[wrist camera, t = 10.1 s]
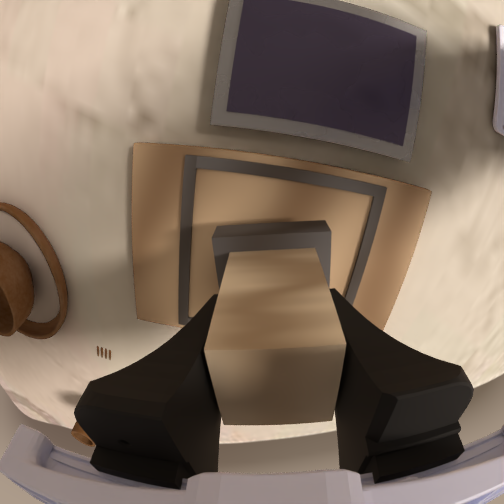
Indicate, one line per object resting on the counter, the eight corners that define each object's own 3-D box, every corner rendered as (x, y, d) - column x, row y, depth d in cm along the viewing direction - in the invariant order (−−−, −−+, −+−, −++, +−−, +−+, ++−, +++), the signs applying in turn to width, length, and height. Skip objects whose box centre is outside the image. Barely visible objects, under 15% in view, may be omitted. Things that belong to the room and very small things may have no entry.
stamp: (325, 219, 14) (376, 319, 7) (322, 309, 16) (349, 428, 9) (217, 225, 14) (171, 328, 7) (229, 314, 16) (207, 433, 9)
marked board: (426, 188, 14) (433, 192, 14) (372, 343, 19) (375, 350, 18) (138, 142, 14) (132, 143, 14) (140, 313, 19) (136, 320, 18)
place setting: (106, 215, 17) (49, 256, 11) (123, 407, 25) (105, 453, 20) (-39, 188, 16) (-84, 210, 11) (1, 353, 24) (-23, 383, 19)
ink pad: (418, 34, 11) (428, 30, 10) (402, 159, 14) (412, 163, 13) (234, -8, 11) (232, -17, 10) (213, 124, 14) (209, 124, 13)
